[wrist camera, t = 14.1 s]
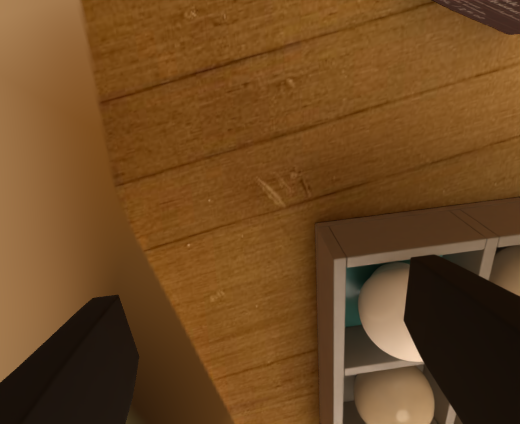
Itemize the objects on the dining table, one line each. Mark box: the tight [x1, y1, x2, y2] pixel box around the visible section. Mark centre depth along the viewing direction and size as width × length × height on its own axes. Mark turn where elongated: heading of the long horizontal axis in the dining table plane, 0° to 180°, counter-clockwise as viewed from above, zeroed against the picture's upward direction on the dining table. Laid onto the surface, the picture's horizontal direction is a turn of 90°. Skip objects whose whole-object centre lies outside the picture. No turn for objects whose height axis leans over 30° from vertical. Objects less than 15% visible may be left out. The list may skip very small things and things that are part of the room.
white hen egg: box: [358, 262, 423, 362], centre depth 18 cm, size 5×5×5 cm
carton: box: [315, 197, 520, 424], centre depth 22 cm, size 15×22×4 cm
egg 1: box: [353, 365, 435, 424], centre depth 21 cm, size 5×5×5 cm
